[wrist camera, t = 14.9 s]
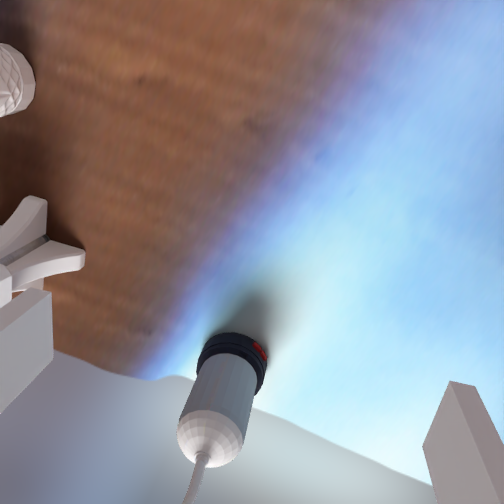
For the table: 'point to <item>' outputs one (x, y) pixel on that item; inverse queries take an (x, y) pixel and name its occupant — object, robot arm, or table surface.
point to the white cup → (14, 81)
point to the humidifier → (220, 403)
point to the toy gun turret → (31, 250)
